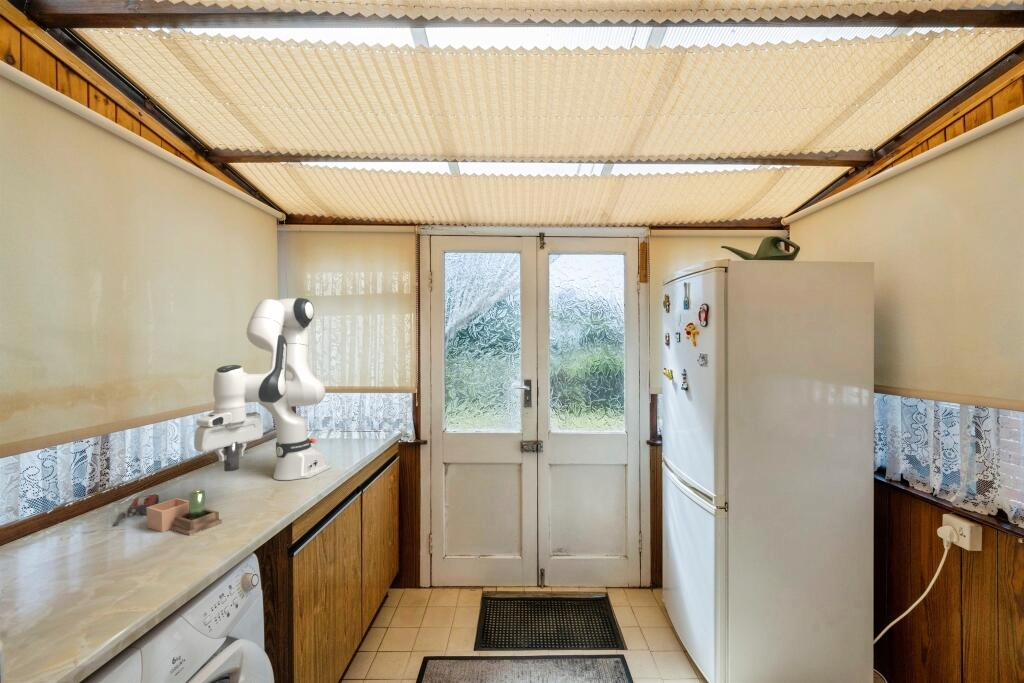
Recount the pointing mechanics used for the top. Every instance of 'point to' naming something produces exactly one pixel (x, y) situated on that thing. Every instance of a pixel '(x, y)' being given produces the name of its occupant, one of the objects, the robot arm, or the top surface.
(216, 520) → the cell holder
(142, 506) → the walkie-talkie
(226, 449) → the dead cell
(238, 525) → the top surface
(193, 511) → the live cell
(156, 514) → the cup
